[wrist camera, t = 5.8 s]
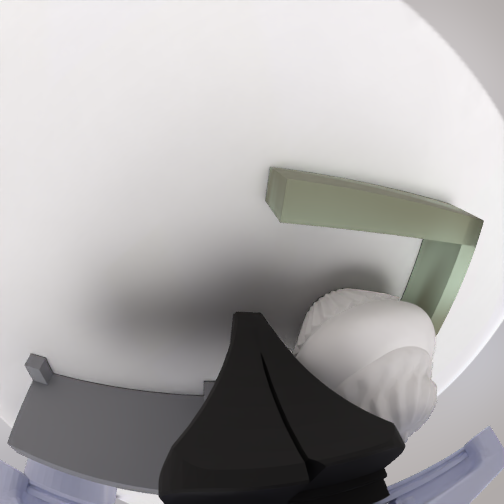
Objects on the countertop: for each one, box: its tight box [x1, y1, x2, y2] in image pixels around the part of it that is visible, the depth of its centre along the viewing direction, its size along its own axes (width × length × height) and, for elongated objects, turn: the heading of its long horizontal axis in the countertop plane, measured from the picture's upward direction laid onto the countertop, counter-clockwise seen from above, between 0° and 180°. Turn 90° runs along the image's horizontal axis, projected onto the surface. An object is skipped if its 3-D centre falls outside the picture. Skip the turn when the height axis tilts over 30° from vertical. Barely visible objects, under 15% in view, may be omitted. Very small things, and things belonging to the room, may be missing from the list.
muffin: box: [293, 288, 437, 443], centre depth 9 cm, size 6×6×7 cm
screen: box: [8, 354, 215, 495], centre depth 10 cm, size 4×12×6 cm, turn 83°
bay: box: [265, 167, 484, 335], centre depth 11 cm, size 12×9×2 cm
